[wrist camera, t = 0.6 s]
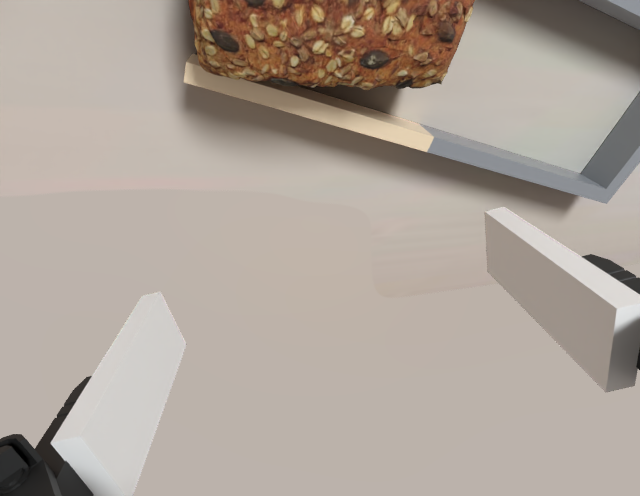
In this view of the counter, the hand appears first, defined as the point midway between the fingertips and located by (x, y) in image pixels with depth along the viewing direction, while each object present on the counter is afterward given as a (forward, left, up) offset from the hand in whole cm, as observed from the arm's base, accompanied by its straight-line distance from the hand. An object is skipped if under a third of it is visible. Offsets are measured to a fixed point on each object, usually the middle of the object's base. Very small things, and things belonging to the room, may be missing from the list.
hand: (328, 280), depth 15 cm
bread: (-9, +1, -26) cm, 27 cm away
